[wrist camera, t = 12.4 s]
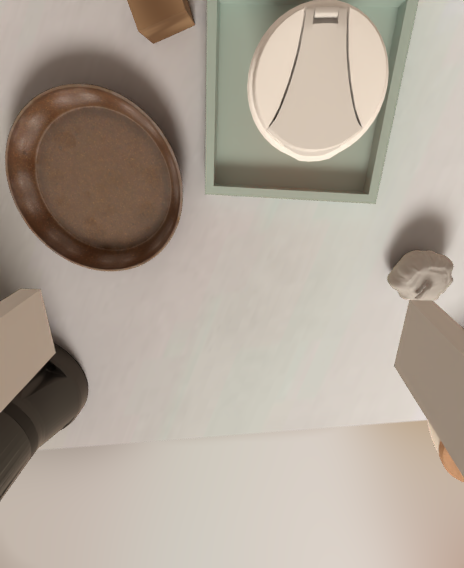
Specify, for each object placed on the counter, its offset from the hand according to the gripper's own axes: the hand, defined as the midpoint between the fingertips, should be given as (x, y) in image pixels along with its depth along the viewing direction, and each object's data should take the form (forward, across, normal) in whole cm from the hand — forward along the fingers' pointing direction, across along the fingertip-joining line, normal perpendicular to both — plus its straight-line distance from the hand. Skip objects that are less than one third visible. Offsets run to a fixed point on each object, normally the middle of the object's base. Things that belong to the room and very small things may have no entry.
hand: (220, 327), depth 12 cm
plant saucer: (+26, +14, -2) cm, 29 cm away
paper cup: (+24, -5, -9) cm, 26 cm away
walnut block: (+25, +7, -17) cm, 31 cm away
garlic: (+25, -18, +6) cm, 31 cm away
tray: (+24, -5, -9) cm, 27 cm away
